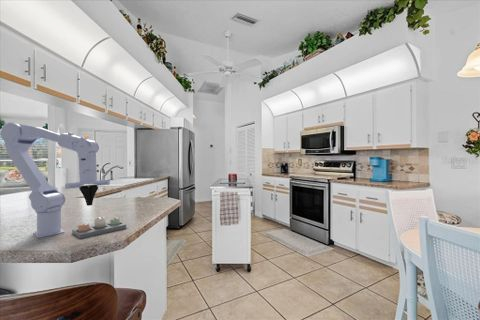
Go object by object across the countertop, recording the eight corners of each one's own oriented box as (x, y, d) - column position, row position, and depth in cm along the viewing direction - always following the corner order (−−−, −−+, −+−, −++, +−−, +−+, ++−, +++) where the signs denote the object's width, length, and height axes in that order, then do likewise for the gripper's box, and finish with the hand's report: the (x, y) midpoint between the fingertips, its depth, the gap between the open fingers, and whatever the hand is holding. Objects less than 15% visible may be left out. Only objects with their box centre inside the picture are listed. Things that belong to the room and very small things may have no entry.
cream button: (93, 227, 91) (93, 217, 91) (103, 225, 93) (103, 216, 93) (96, 228, 88) (96, 219, 88) (106, 226, 91) (106, 217, 91)
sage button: (108, 227, 95) (108, 218, 95) (117, 225, 98) (117, 216, 98) (111, 229, 93) (111, 219, 93) (121, 227, 95) (121, 218, 95)
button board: (72, 233, 88) (72, 229, 88) (116, 224, 100) (116, 220, 100) (80, 238, 82) (80, 234, 82) (126, 228, 94) (126, 224, 94)
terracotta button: (76, 234, 87) (76, 224, 87) (87, 231, 89) (87, 222, 89) (79, 236, 84) (79, 226, 84) (90, 233, 87) (90, 223, 87)
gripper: (68, 171, 82) (69, 209, 81) (112, 169, 93) (113, 202, 93) (63, 171, 86) (64, 207, 86) (105, 169, 97) (106, 201, 97)
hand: (89, 205), depth 90 cm, fingers closed
